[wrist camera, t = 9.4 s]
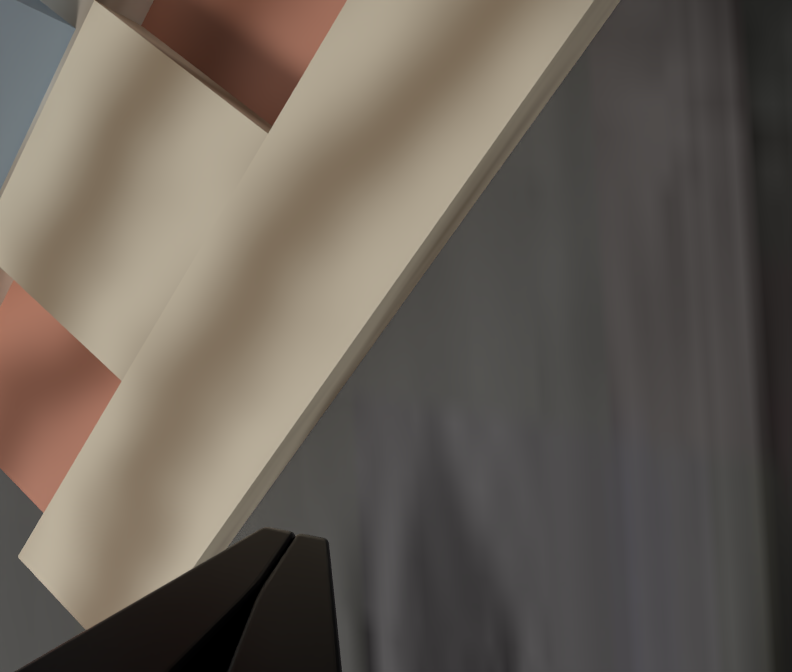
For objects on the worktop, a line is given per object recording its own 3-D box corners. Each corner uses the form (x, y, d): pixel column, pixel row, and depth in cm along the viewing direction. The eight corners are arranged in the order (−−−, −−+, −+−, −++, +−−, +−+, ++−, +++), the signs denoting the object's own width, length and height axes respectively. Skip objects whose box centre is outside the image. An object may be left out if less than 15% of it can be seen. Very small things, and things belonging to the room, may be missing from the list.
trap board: (622, -2, 18) (625, -46, 15) (166, 631, 25) (121, 668, 23) (54, -353, 22) (-10, -427, 20) (-187, 266, 30) (-255, 265, 27)
